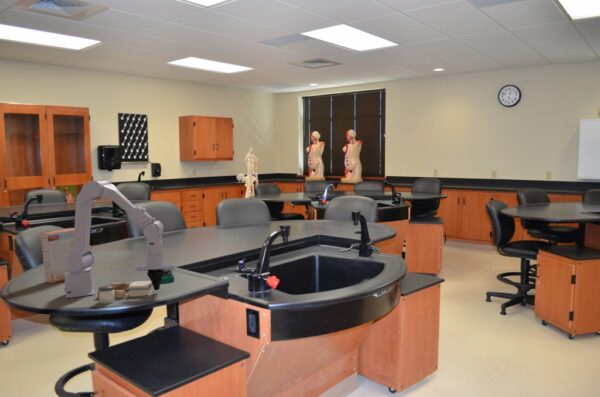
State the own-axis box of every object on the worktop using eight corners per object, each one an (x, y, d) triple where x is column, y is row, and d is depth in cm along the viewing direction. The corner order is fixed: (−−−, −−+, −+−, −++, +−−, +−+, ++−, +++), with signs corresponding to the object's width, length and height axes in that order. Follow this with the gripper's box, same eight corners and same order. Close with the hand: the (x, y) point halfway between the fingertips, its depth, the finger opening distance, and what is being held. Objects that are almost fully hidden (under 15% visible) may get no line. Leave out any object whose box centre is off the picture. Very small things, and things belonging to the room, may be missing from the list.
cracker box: (75, 274, 205) (72, 227, 203) (83, 276, 202) (80, 228, 200) (44, 282, 194) (40, 232, 192) (52, 284, 190) (48, 233, 188)
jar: (99, 304, 162) (98, 290, 162) (99, 300, 167) (98, 286, 166) (115, 302, 164) (114, 287, 164) (114, 298, 169) (113, 284, 169)
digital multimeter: (172, 274, 204) (171, 267, 204) (174, 282, 190) (174, 275, 190) (154, 276, 202) (154, 269, 201) (155, 284, 188) (155, 277, 187)
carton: (129, 296, 171) (128, 286, 171) (134, 291, 178) (133, 281, 177) (148, 296, 172) (148, 285, 171) (153, 291, 178) (152, 280, 178)
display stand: (98, 298, 170) (97, 291, 169) (111, 289, 181) (110, 283, 180) (124, 297, 169) (123, 291, 169) (135, 289, 180) (135, 282, 180)
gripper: (177, 251, 177) (179, 286, 178) (139, 251, 177) (141, 286, 178) (171, 255, 170) (173, 291, 171) (132, 255, 170) (134, 291, 171)
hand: (156, 289), depth 174 cm, fingers closed
